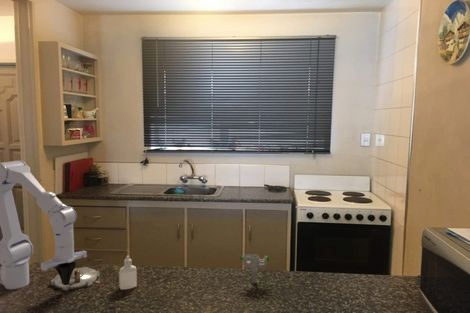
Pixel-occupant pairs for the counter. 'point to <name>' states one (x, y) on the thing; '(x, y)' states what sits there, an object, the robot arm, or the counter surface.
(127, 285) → the eye dropper bottle
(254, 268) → the mechanical component
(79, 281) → the tabbed shallow bowl
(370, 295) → the counter surface
